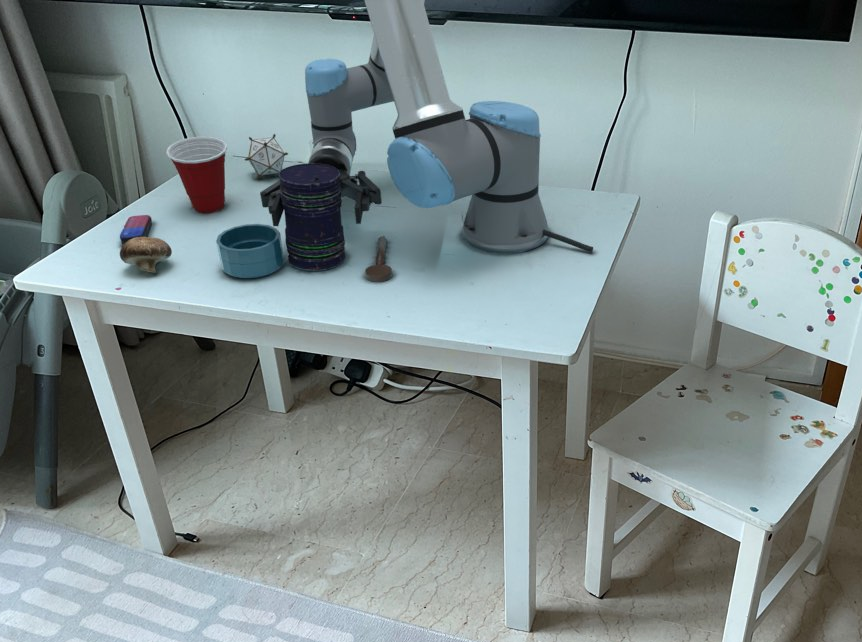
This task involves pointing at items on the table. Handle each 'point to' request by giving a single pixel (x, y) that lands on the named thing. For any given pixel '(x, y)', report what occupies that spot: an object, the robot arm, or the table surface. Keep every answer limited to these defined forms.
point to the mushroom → (145, 252)
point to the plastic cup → (201, 171)
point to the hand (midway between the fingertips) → (316, 217)
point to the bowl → (250, 250)
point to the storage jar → (312, 216)
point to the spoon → (379, 264)
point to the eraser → (136, 227)
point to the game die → (266, 156)
